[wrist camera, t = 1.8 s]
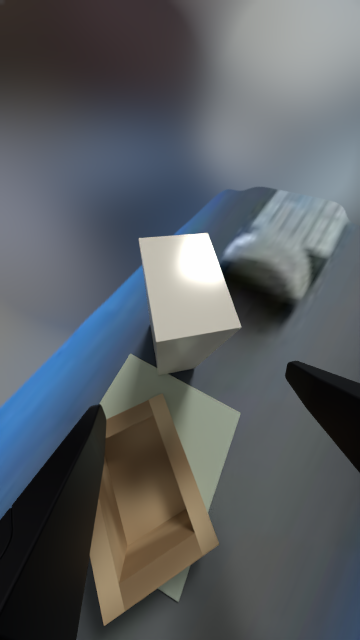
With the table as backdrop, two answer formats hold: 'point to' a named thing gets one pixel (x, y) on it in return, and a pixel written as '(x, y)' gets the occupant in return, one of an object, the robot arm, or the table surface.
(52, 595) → the robot arm
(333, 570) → the table surface
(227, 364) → the table surface
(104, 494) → the tray
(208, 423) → the mat
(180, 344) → the off-white rectangular block
